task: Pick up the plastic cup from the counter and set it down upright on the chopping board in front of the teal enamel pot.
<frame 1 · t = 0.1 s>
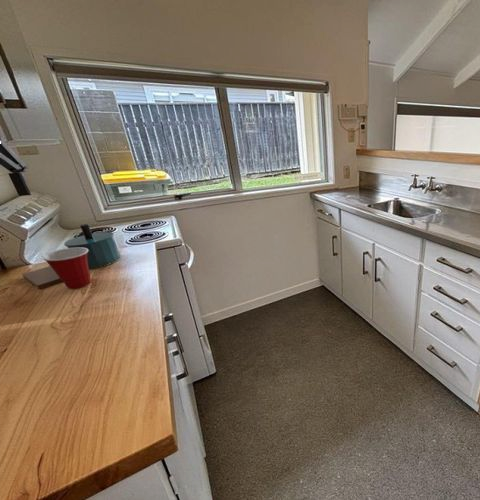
hand: (2, 200, 78), 30 cm above the counter, tool pointing down, fingers open, 13 cm apart
pot lid: (90, 239, 109), point 9 cm above the counter, touching pot
plastic cup: (80, 285, 95), on the counter
pot: (99, 262, 113), on the counter
board: (54, 276, 102), on the counter
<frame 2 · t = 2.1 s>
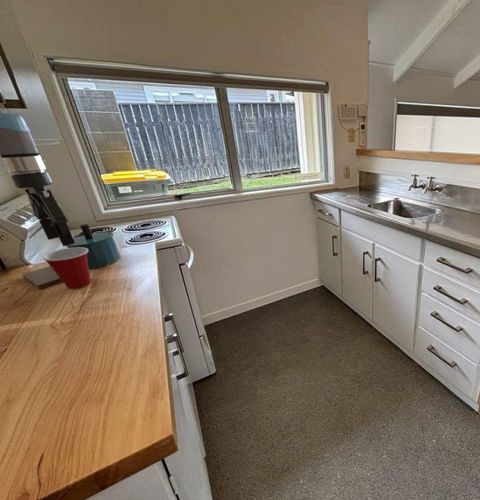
hand: (61, 241, 89), 16 cm above the counter, tool pointing down, fingers open, 13 cm apart
nothing on the counter moved.
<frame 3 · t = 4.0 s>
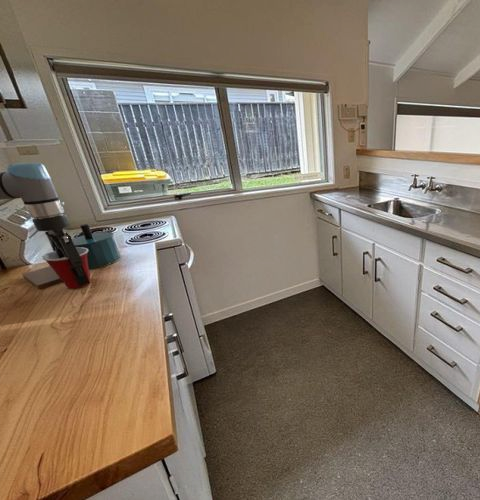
hand: (79, 281, 95), 1 cm above the counter, tool pointing down, fingers closed on plastic cup, 8 cm apart
plastic cup: (80, 285, 95), on the counter, touching gripper
everything else where it was.
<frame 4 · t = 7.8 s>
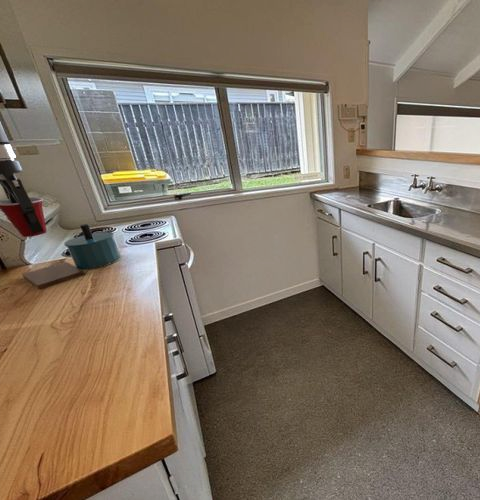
hand: (33, 230, 95), 18 cm above the counter, tool pointing down, fingers closed on plastic cup, 8 cm apart
plastic cup: (36, 234, 96), point 16 cm above the counter, touching gripper
everything else where it was.
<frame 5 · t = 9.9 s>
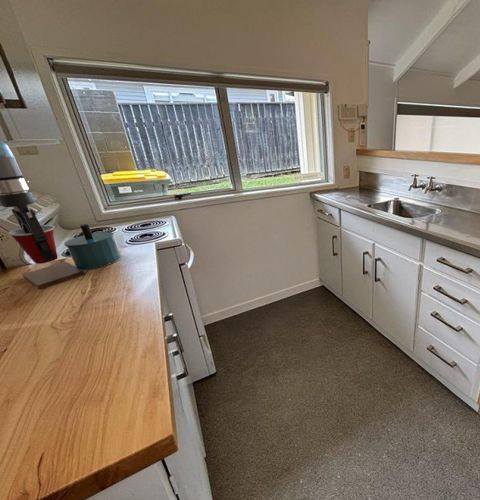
hand: (45, 257, 99), 8 cm above the counter, tool pointing down, fingers closed on plastic cup, 8 cm apart
plastic cup: (47, 261, 100), point 6 cm above the counter, touching gripper
everything else where it was.
when the fingers open (3 cm above the counter, at t = 11.6 s): plastic cup stays where it is, resting on board.
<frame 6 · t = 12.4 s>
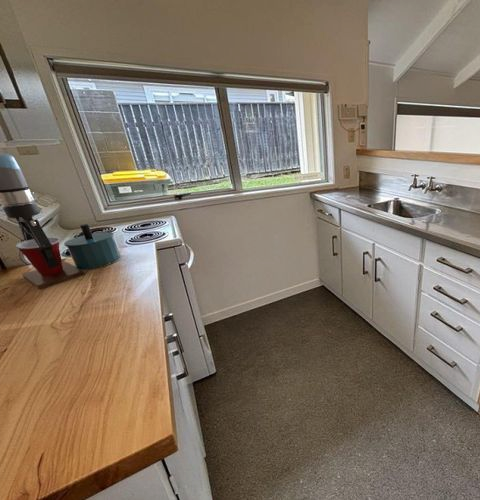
hand: (47, 262, 100), 5 cm above the counter, tool pointing down, fingers open, 13 cm apart
plastic cup: (53, 272, 102), point 1 cm above the counter, touching board
everything else where it was.
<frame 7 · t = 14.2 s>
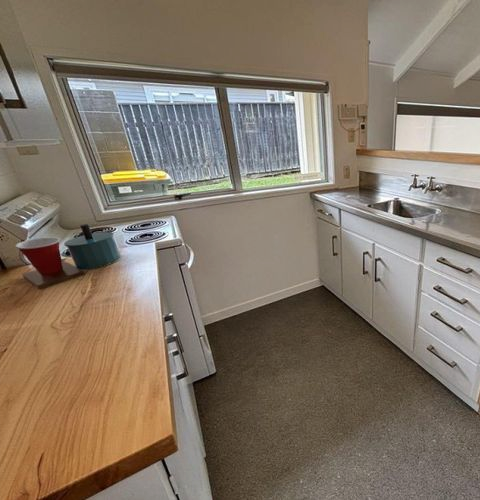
nothing on the counter moved.
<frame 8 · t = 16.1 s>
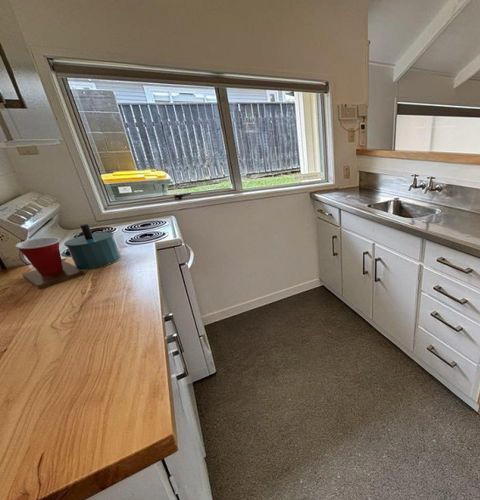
nothing on the counter moved.
at the end: plastic cup inside the target area on the board (0.3 cm from its centre), point 1.3 cm above the board's base; plastic cup tilted 0°; plastic cup 13.3 cm from the pot (horizontally) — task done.
